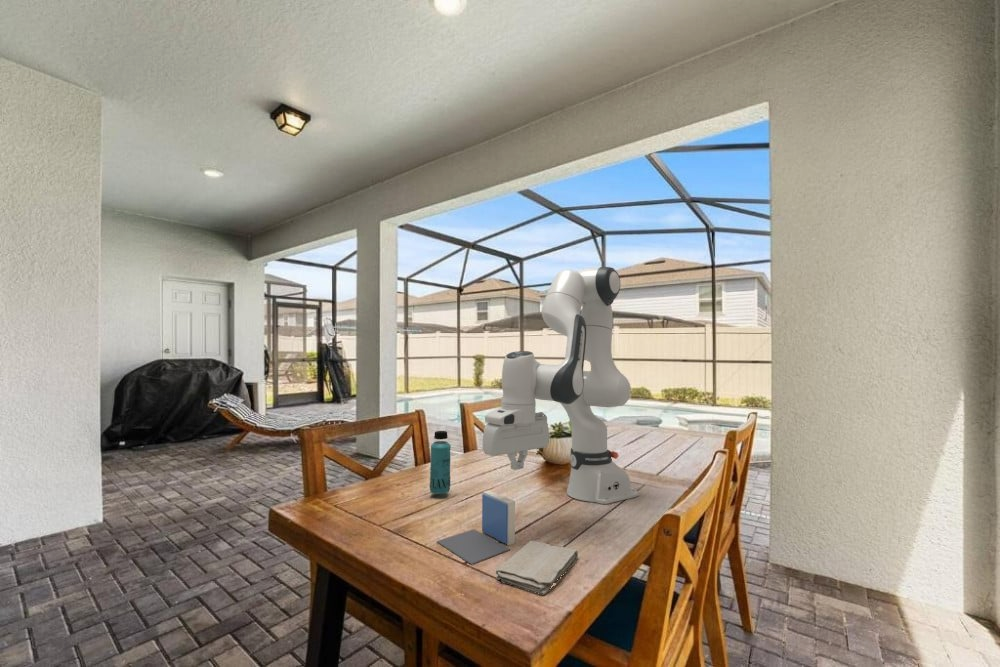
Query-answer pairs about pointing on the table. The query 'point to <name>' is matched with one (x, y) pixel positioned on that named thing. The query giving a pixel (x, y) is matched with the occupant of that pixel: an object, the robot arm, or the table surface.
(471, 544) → the mat
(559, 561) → the washcloth
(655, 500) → the table surface
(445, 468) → the beverage bottle
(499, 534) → the tile
